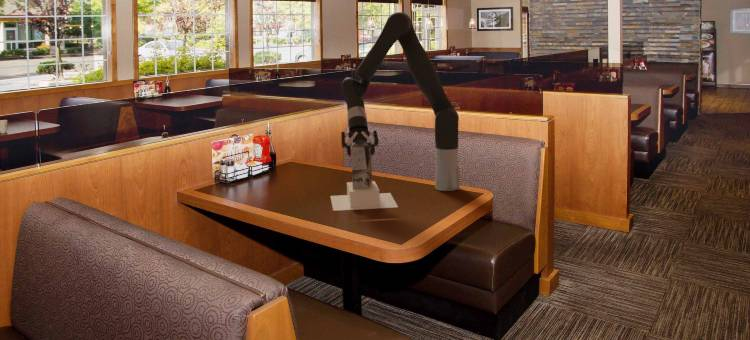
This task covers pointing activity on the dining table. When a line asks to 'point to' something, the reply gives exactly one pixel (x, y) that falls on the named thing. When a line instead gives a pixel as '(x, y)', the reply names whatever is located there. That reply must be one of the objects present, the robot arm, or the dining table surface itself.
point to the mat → (343, 204)
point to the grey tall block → (361, 166)
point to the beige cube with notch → (363, 195)
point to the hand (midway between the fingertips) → (361, 155)
